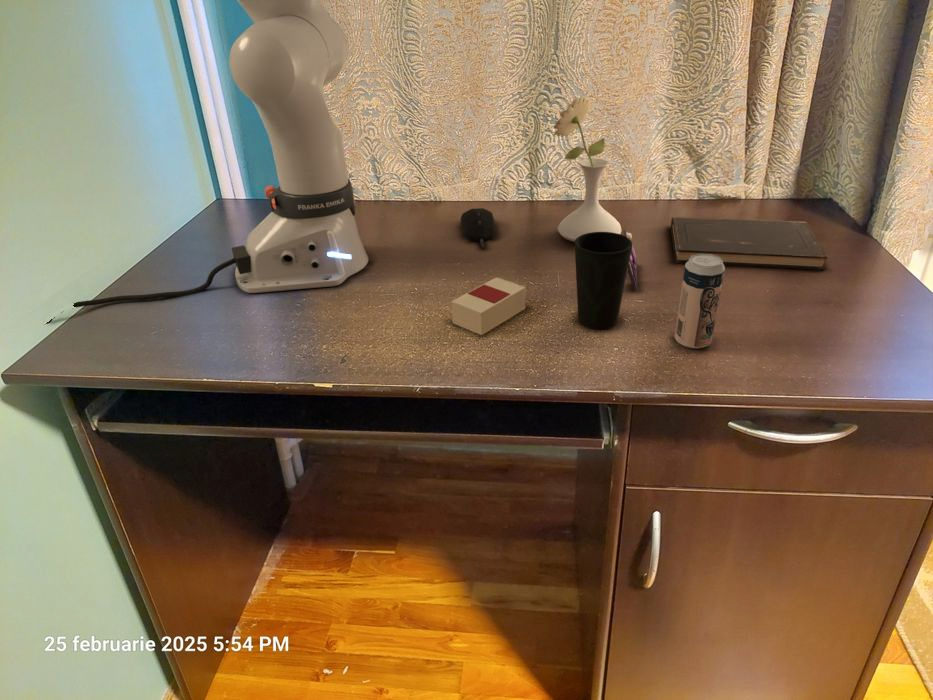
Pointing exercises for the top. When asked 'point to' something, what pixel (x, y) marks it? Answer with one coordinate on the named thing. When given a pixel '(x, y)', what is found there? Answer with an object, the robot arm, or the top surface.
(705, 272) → the beer can
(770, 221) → the hardcover book
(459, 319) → the packet
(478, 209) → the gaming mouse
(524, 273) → the top surface
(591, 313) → the cup
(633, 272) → the purple toy figure frame
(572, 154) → the flower in vase
